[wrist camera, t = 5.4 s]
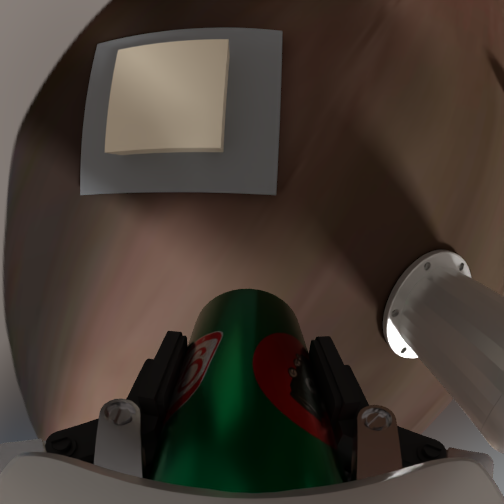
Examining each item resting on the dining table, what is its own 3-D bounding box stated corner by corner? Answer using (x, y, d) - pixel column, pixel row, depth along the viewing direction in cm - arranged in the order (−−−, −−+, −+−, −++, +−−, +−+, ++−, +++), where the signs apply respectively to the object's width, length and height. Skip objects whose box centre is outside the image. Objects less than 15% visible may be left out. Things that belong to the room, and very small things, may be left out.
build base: (280, 37, 17) (288, 12, 13) (274, 194, 21) (282, 198, 17) (102, 48, 16) (82, 31, 12) (87, 193, 20) (60, 198, 16)
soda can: (204, 273, 12) (96, 566, 1) (310, 294, 13) (424, 554, 1) (191, 359, 14) (137, 576, 2) (282, 374, 14) (314, 586, 2)
